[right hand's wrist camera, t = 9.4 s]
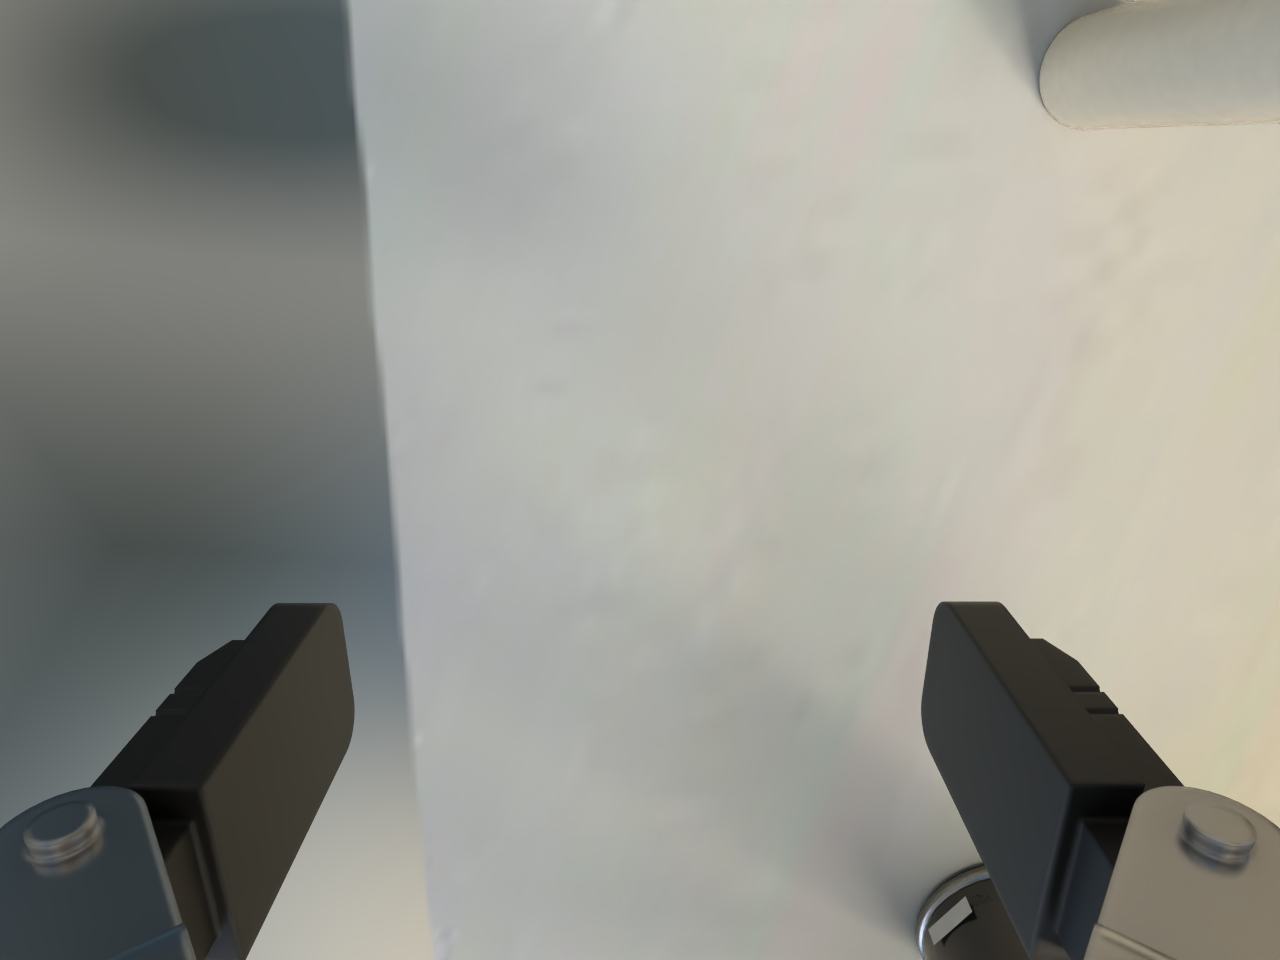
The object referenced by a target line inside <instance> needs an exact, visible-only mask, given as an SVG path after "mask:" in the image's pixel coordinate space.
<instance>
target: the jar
mask: <svg viewBox="0 0 1280 960" xmlns="http://www.w3.org/2000/svg"><path fill="white" fill-rule="evenodd" d="M1039 83H1040V93H1041V97H1042V100H1043V103H1044V105H1045V107H1046V109H1047V111H1048V112H1049V113H1050V115H1051V116H1052V117H1053V118H1054V119H1055V120H1057V121H1058V122H1059V123H1061V124H1063V125H1064V126H1067V127H1069V128H1073V129H1080V130H1091V129H1121V128H1151V127H1181V126H1212V125H1242V124H1272V123H1280V0H1136V1H1133V2H1129V3H1126V4H1122V5H1119V6H1115V7H1112V8H1108V9H1105V10H1101V11H1098V12H1095V13H1091V14H1088V15H1085V16H1083V17H1080V18H1079V19H1077V20H1075V21H1073V22H1072V23H1070V24H1069V25H1068V26H1066V27H1065V28H1064V29H1063V30H1062V31H1061V32H1060V33H1059V34H1058V35H1057V36H1056V38H1055V39H1054V40H1053V42H1052V43H1051V45H1050V47H1049V48H1048V50H1047V52H1046V54H1045V57H1044V59H1043V63H1042V66H1041V71H1040V80H1039Z"/></svg>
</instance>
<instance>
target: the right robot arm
mask: <svg viewBox="0 0 1280 960" xmlns="http://www.w3.org/2000/svg"><path fill="white" fill-rule="evenodd" d="M921 716H922V726H923V732H924V736H925V740H926V743H927V746H928V749H929V751H930V753H931V755H932V757H933V759H934V761H935V763H936V765H937V768H938V770H939V772H940V774H941V776H942V778H943V780H944V782H945V784H946V786H947V788H948V790H949V793H950V795H951V797H952V799H953V801H954V803H955V805H956V807H957V809H958V811H959V813H960V815H961V818H962V820H963V822H964V824H965V826H966V828H967V830H968V832H969V834H970V836H971V838H972V841H973V843H974V845H975V847H976V849H977V851H978V853H979V855H980V857H981V859H982V861H983V863H984V866H982V867H978V868H975V869H972V870H969V871H967V872H964V873H962V874H960V875H958V876H956V877H954V878H952V879H951V880H949V881H948V882H946V883H945V884H943V885H942V886H941V887H940V888H938V889H937V890H936V891H935V892H934V893H933V894H932V895H931V896H930V898H929V899H928V900H927V901H926V903H925V904H924V906H923V908H922V910H921V911H920V914H919V916H918V920H917V925H916V939H917V943H918V946H919V949H920V952H921V955H922V957H923V960H1280V828H1279V827H1277V826H1276V825H1275V824H1274V823H1272V822H1271V821H1270V820H1268V819H1267V818H1266V817H1264V816H1263V815H1261V814H1259V813H1258V812H1256V811H1254V810H1253V809H1251V808H1249V807H1247V806H1245V805H1243V804H1241V803H1239V802H1237V801H1235V800H1232V799H1230V798H1227V797H1225V796H1222V795H1219V794H1216V793H1213V792H1210V791H1206V790H1201V789H1197V788H1191V787H1184V785H1183V784H1182V783H1181V782H1180V781H1179V780H1178V778H1177V777H1176V776H1175V775H1174V774H1173V773H1172V771H1171V770H1170V769H1169V768H1168V767H1167V766H1166V764H1165V763H1164V762H1163V761H1162V760H1161V758H1160V757H1159V756H1158V755H1157V754H1156V753H1155V751H1154V750H1153V749H1152V748H1151V747H1150V746H1149V744H1148V743H1147V742H1146V741H1145V740H1144V738H1143V737H1142V736H1141V735H1140V734H1139V733H1138V731H1137V730H1136V729H1135V728H1134V727H1133V726H1132V724H1131V723H1130V722H1129V721H1128V720H1127V719H1126V717H1125V716H1124V715H1123V714H1119V713H1118V708H1117V707H1116V706H1115V704H1114V703H1113V702H1112V701H1111V700H1110V699H1109V697H1108V696H1107V695H1106V694H1105V693H1104V692H1100V689H1099V686H1098V684H1097V683H1096V682H1095V681H1094V680H1093V679H1092V677H1091V676H1090V675H1089V674H1088V673H1087V672H1086V670H1085V669H1084V668H1083V667H1082V666H1081V664H1080V663H1079V662H1078V661H1077V660H1075V659H1074V658H1072V657H1071V656H1069V655H1067V654H1066V653H1064V652H1063V651H1061V650H1060V649H1058V648H1057V647H1055V646H1053V645H1052V644H1050V643H1049V642H1047V641H1046V640H1044V639H1030V638H1029V637H1028V635H1027V634H1026V633H1025V632H1024V630H1023V629H1022V628H1021V627H1020V625H1019V624H1018V623H1017V622H1016V620H1015V619H1014V618H1013V617H1012V615H1011V614H1010V613H1009V611H1008V610H1007V609H1006V608H1005V607H1004V605H1003V604H1001V603H1000V602H941V603H940V604H939V605H938V606H937V608H936V610H935V614H934V618H933V624H932V631H931V638H930V645H929V652H928V659H927V666H926V673H925V680H924V687H923V694H922V703H921ZM353 725H354V697H353V690H352V684H351V677H350V670H349V663H348V656H347V649H346V642H345V636H344V629H343V622H342V617H341V613H340V611H339V609H338V607H337V605H335V604H333V603H277V604H274V605H273V606H272V607H271V608H270V609H269V610H268V612H267V613H266V614H265V615H264V617H263V618H262V619H261V620H260V622H259V623H258V624H257V626H256V627H255V628H254V629H253V630H252V632H251V633H250V634H249V635H248V637H247V638H246V639H245V640H232V641H230V642H229V643H227V644H225V645H224V646H222V647H221V648H219V649H218V650H216V651H214V652H213V653H211V654H210V655H208V656H207V657H205V658H204V659H202V660H200V661H199V662H197V663H196V664H195V666H194V667H193V668H192V669H191V670H190V672H189V673H188V674H187V675H186V676H185V677H184V678H183V680H182V681H181V682H180V683H179V684H178V685H177V687H176V688H175V693H174V694H170V695H169V696H168V697H167V698H166V699H165V701H164V702H163V703H162V704H161V705H160V706H159V708H158V709H157V710H156V715H155V716H151V717H150V718H149V719H148V720H147V722H146V723H145V724H144V725H143V726H142V727H141V729H140V730H139V731H138V732H137V733H136V734H135V736H134V737H133V738H132V739H131V740H130V741H129V742H128V744H127V745H126V746H125V747H124V748H123V749H122V751H121V752H120V753H119V754H118V755H117V756H116V758H115V759H114V760H113V761H112V762H111V764H110V765H109V766H108V767H107V768H106V769H105V770H104V772H103V773H102V774H101V775H100V776H99V777H98V779H97V780H96V781H95V782H94V783H93V784H92V786H91V787H89V788H83V789H79V790H74V791H70V792H67V793H64V794H61V795H58V796H55V797H53V798H50V799H48V800H45V801H43V802H41V803H39V804H37V805H35V806H33V807H31V808H29V809H27V810H26V811H24V812H23V813H21V814H19V815H18V816H16V817H14V818H13V819H12V820H10V821H9V822H8V823H6V824H5V825H4V826H3V827H1V828H0V960H246V958H247V956H248V954H249V952H250V949H251V947H252V945H253V943H254V941H255V939H256V937H257V935H258V933H259V931H260V929H261V927H262V925H263V923H264V921H265V919H266V917H267V914H268V912H269V910H270V908H271V906H272V904H273V902H274V900H275V898H276V896H277V894H278V892H279V890H280V888H281V886H282V884H283V882H284V879H285V877H286V875H287V873H288V871H289V869H290V867H291V865H292V863H293V861H294V859H295V857H296V855H297V853H298V851H299V849H300V846H301V844H302V842H303V840H304V838H305V836H306V834H307V832H308V830H309V828H310V826H311V824H312V822H313V820H314V818H315V816H316V813H317V811H318V809H319V807H320V805H321V803H322V801H323V799H324V797H325V795H326V793H327V791H328V789H329V787H330V785H331V783H332V781H333V779H334V776H335V774H336V772H337V770H338V768H339V766H340V764H341V762H342V760H343V758H344V756H345V754H346V752H347V749H348V747H349V744H350V741H351V737H352V732H353Z"/></svg>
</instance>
